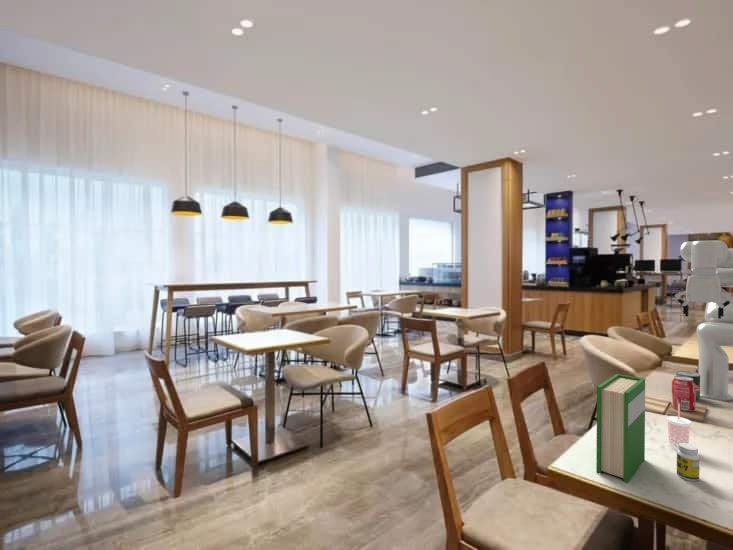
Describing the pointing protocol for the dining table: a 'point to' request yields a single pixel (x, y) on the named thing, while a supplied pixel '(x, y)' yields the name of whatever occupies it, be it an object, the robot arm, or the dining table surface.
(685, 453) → the supplement bottle
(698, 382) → the canned tomato
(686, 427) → the beverage cup
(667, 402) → the flat tan panel
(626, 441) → the hardback book
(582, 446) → the dining table surface
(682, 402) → the soda can
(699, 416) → the plank
